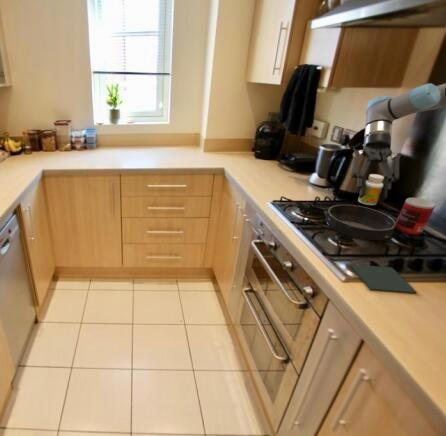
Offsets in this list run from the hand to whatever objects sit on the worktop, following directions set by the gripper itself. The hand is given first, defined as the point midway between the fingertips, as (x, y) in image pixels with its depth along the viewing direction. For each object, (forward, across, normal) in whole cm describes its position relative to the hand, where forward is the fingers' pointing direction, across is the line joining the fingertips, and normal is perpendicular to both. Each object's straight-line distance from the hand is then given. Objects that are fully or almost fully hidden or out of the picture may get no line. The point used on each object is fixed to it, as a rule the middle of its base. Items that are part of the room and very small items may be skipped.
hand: (372, 197), depth 106 cm
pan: (+6, 0, -12) cm, 14 cm away
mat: (+30, 0, +11) cm, 32 cm away
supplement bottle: (0, 0, -5) cm, 5 cm away
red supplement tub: (+4, -16, -15) cm, 22 cm away
